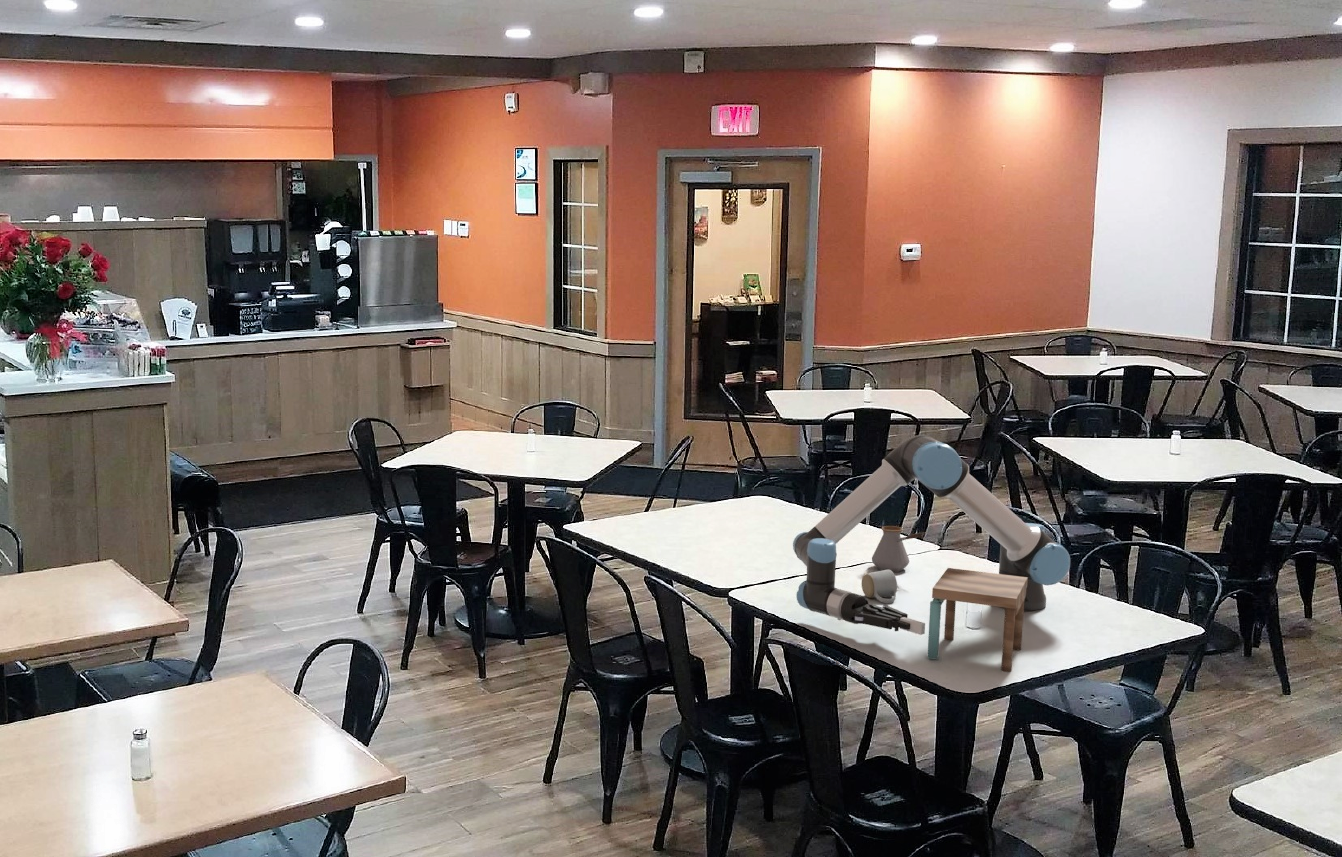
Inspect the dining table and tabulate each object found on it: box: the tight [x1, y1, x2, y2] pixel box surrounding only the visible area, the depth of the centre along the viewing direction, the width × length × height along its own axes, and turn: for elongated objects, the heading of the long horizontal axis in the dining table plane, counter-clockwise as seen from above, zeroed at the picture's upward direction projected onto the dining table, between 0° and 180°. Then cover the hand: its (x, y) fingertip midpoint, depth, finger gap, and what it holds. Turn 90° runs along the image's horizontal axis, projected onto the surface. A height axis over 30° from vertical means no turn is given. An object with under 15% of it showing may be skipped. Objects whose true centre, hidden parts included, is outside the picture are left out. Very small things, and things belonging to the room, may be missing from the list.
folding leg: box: [927, 598, 945, 660], centre depth 325 cm, size 16×3×15 cm, turn 158°
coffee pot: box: [871, 525, 929, 573], centre depth 395 cm, size 21×12×15 cm, turn 30°
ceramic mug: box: [861, 570, 898, 604], centre depth 369 cm, size 11×8×8 cm
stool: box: [931, 567, 1028, 673], centre depth 323 cm, size 20×20×18 cm
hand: (923, 629), depth 320 cm, fingers closed
